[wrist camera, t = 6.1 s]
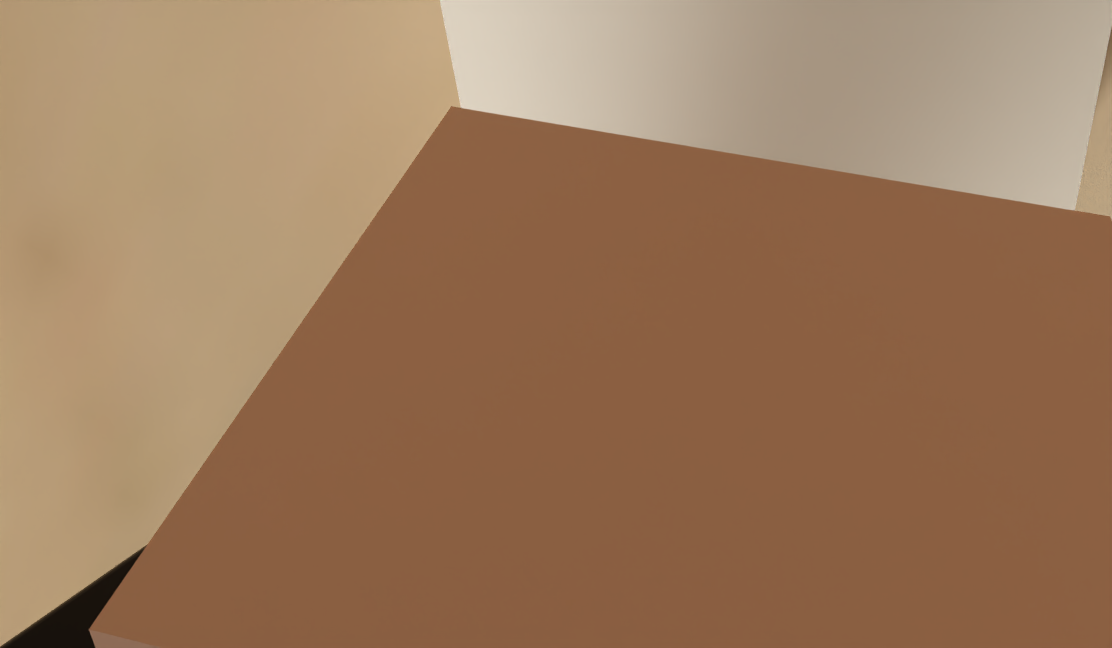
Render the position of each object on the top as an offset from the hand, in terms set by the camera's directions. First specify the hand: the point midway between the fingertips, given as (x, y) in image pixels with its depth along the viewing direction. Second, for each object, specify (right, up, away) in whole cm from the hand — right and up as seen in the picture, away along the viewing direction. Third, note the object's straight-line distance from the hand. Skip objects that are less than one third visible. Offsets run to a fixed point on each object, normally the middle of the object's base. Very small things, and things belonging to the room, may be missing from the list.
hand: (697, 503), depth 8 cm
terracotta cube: (0, +1, +1) cm, 1 cm away
